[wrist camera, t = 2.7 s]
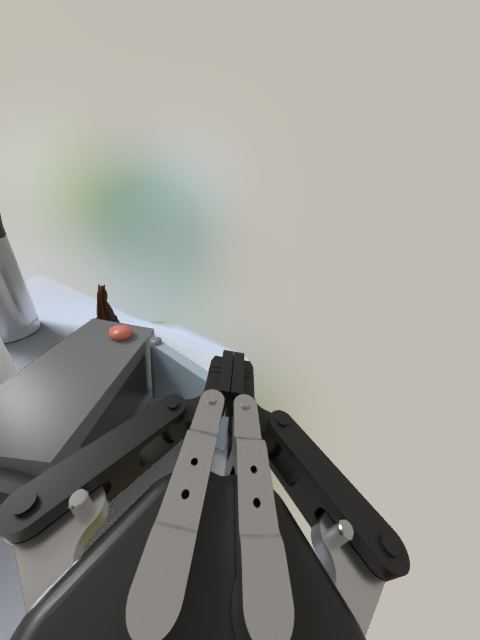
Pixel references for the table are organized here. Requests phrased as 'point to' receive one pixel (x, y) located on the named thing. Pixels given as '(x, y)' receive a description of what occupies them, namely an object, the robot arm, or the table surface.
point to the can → (6, 364)
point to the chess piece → (104, 306)
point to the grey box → (71, 398)
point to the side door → (179, 379)
